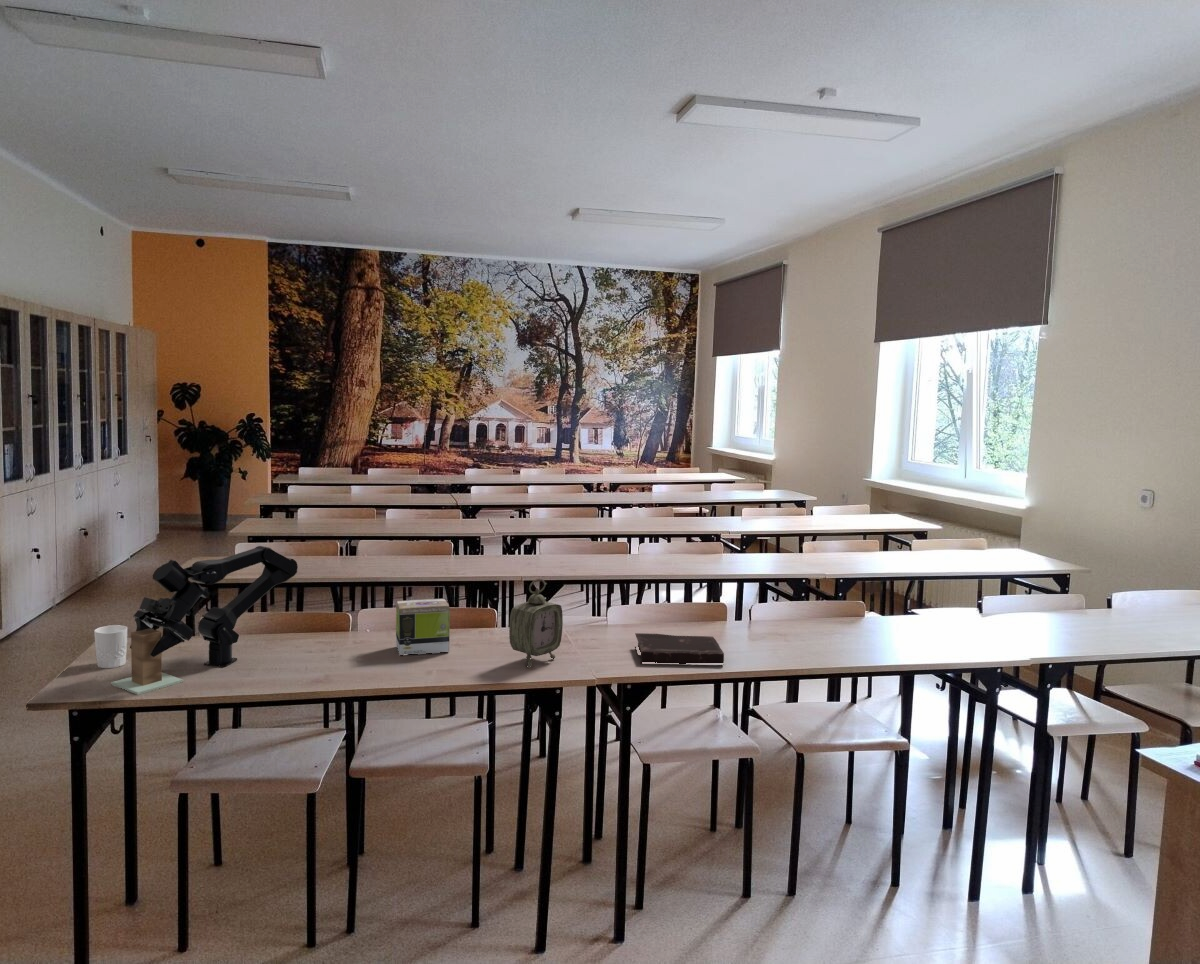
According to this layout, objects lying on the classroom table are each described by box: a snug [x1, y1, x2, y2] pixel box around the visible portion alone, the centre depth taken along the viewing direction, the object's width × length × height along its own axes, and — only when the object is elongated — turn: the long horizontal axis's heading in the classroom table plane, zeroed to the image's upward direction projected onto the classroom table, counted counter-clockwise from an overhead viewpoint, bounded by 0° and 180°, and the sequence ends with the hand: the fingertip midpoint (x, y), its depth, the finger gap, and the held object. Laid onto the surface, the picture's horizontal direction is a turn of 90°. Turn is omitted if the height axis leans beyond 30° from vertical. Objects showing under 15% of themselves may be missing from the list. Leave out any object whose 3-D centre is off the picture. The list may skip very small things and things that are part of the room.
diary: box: [635, 632, 725, 664], centre depth 261 cm, size 19×25×5 cm
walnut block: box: [130, 628, 163, 686], centre depth 218 cm, size 5×5×13 cm
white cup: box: [93, 624, 128, 669], centre depth 231 cm, size 8×8×10 cm
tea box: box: [395, 598, 451, 656], centre depth 255 cm, size 15×10×15 cm
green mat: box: [110, 671, 184, 695], centre depth 219 cm, size 12×12×1 cm
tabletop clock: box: [508, 578, 564, 668], centre depth 248 cm, size 14×9×25 cm, turn 143°
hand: (141, 652), depth 217 cm, fingers open, 9 cm apart
